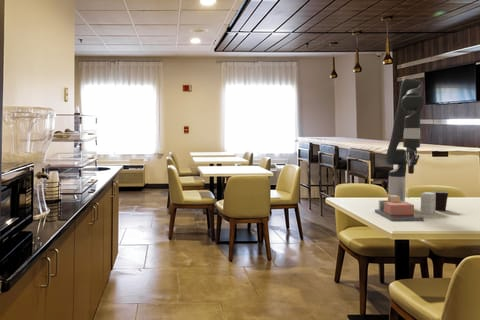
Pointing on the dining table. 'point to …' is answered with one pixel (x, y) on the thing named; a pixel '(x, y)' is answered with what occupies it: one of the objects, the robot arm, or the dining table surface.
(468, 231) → the dining table surface
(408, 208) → the sliding jaw
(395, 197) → the maple block
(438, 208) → the coffee mug
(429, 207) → the small box
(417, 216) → the vise
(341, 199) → the dining table surface
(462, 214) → the dining table surface
